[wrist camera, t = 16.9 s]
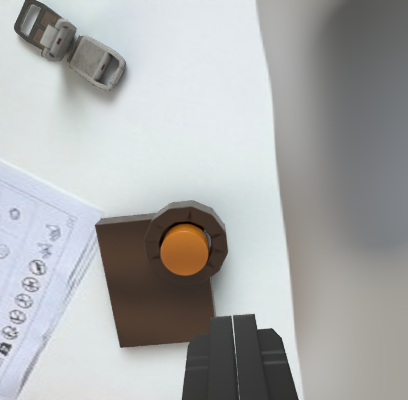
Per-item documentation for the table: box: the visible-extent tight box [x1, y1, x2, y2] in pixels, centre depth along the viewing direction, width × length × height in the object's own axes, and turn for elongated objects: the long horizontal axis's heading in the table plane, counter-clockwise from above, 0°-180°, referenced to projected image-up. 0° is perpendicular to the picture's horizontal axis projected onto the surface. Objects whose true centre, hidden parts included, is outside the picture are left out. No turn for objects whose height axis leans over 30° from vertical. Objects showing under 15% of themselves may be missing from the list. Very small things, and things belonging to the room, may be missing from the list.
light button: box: [160, 224, 209, 276], centre depth 27 cm, size 4×4×2 cm
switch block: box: [95, 200, 228, 348], centre depth 30 cm, size 13×11×4 cm
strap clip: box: [14, 0, 126, 91], centre depth 25 cm, size 8×3×4 cm, turn 58°
